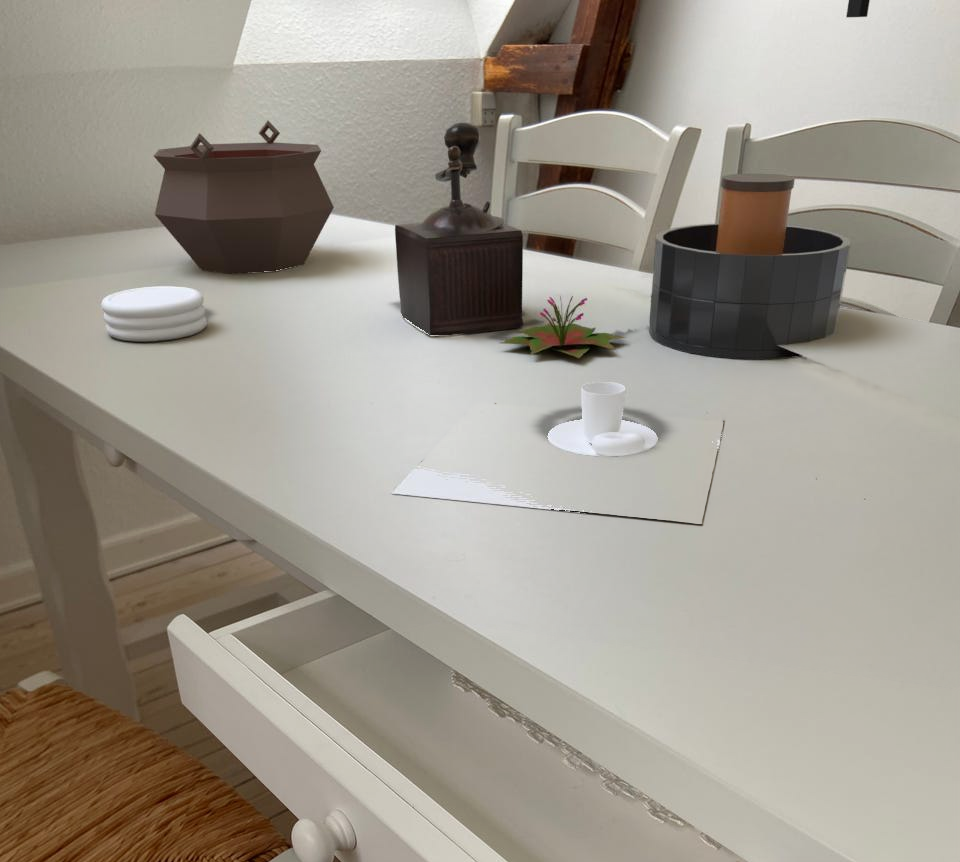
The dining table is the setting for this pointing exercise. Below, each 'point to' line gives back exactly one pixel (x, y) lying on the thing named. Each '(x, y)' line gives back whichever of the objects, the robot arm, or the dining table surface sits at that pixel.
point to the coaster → (154, 313)
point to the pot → (745, 293)
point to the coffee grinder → (460, 258)
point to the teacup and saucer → (575, 436)
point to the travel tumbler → (754, 213)
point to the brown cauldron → (243, 203)
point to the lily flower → (562, 334)
